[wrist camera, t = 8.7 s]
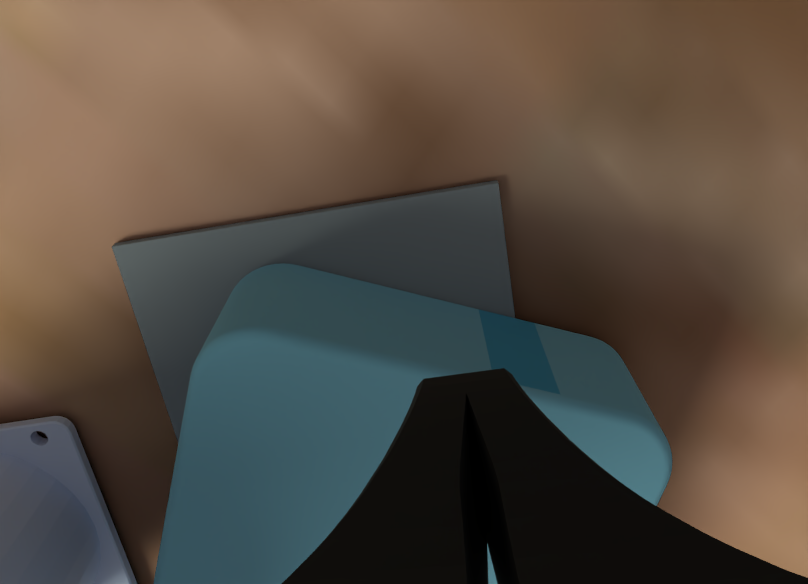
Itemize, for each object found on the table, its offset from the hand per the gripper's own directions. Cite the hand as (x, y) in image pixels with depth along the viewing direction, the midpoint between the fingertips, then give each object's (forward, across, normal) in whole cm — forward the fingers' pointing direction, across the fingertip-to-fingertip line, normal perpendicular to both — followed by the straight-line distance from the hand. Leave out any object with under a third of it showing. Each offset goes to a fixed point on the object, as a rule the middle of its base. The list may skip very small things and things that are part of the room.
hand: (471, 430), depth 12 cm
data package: (+8, -3, +10) cm, 13 cm away
